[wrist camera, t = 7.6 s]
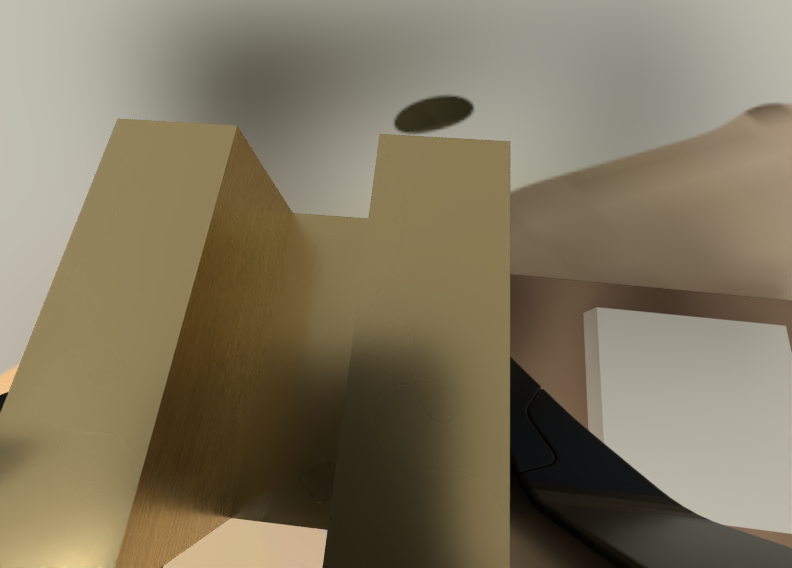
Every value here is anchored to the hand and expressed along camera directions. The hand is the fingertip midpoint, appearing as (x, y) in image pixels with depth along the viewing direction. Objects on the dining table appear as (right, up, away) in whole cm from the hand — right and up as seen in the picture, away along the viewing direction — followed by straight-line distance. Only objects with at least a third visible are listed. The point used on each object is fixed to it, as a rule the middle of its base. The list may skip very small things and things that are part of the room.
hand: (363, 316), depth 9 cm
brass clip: (0, -3, +5) cm, 5 cm away
